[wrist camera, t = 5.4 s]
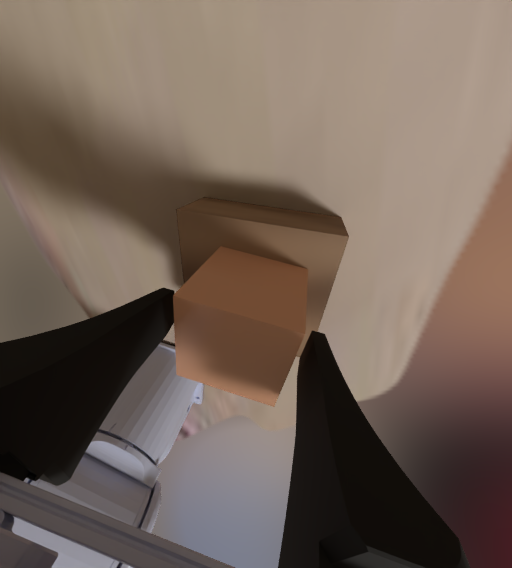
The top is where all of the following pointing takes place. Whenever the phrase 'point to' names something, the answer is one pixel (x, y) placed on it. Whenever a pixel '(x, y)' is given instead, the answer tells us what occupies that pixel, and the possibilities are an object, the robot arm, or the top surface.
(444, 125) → the top surface
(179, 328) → the terracotta cube
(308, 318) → the walnut block
